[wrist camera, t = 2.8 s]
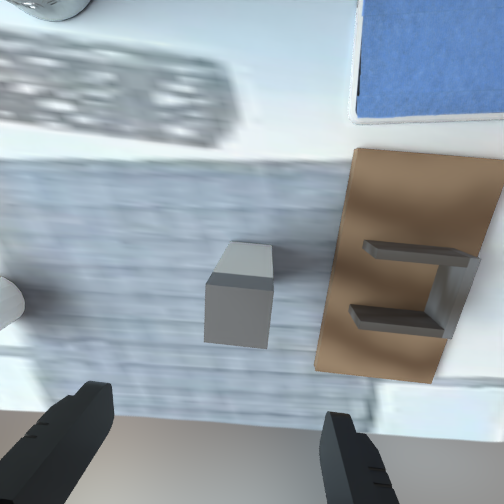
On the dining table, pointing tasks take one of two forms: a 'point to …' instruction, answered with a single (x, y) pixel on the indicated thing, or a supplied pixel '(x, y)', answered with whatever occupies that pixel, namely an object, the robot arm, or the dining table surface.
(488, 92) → the tablet computer
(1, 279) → the white cup
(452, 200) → the holder
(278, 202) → the dining table surface
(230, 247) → the plug
